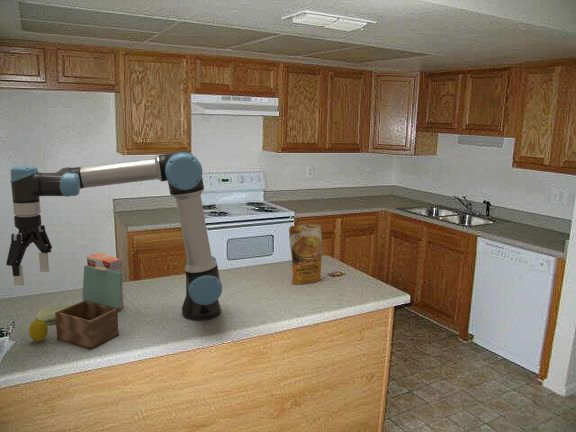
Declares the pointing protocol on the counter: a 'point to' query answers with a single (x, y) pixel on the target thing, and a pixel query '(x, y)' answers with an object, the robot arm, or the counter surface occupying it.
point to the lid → (102, 286)
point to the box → (87, 324)
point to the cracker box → (108, 263)
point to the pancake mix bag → (306, 252)
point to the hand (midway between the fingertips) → (32, 278)
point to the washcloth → (50, 314)
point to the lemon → (38, 330)
